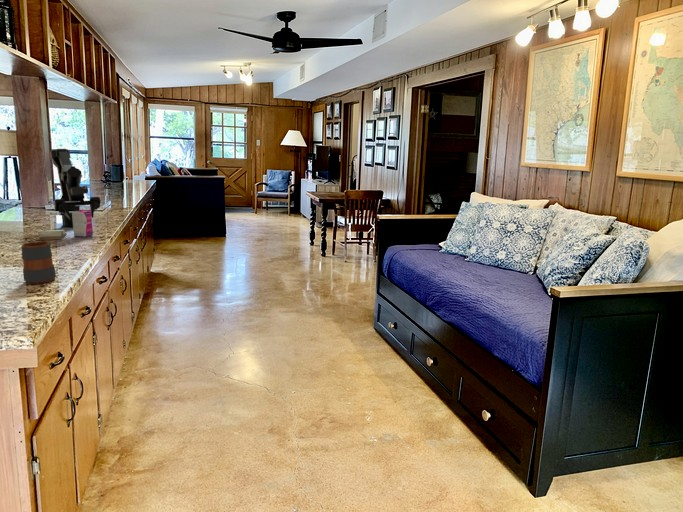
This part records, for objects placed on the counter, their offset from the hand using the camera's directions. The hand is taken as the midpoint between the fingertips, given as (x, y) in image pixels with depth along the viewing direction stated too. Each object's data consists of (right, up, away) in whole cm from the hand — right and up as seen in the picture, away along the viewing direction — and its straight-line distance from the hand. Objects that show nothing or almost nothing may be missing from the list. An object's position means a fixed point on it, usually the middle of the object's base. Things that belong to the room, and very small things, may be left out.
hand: (81, 218), depth 235 cm
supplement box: (0, -8, +1) cm, 8 cm away
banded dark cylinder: (+23, -25, -72) cm, 79 cm away
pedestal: (-11, -9, -3) cm, 15 cm away
